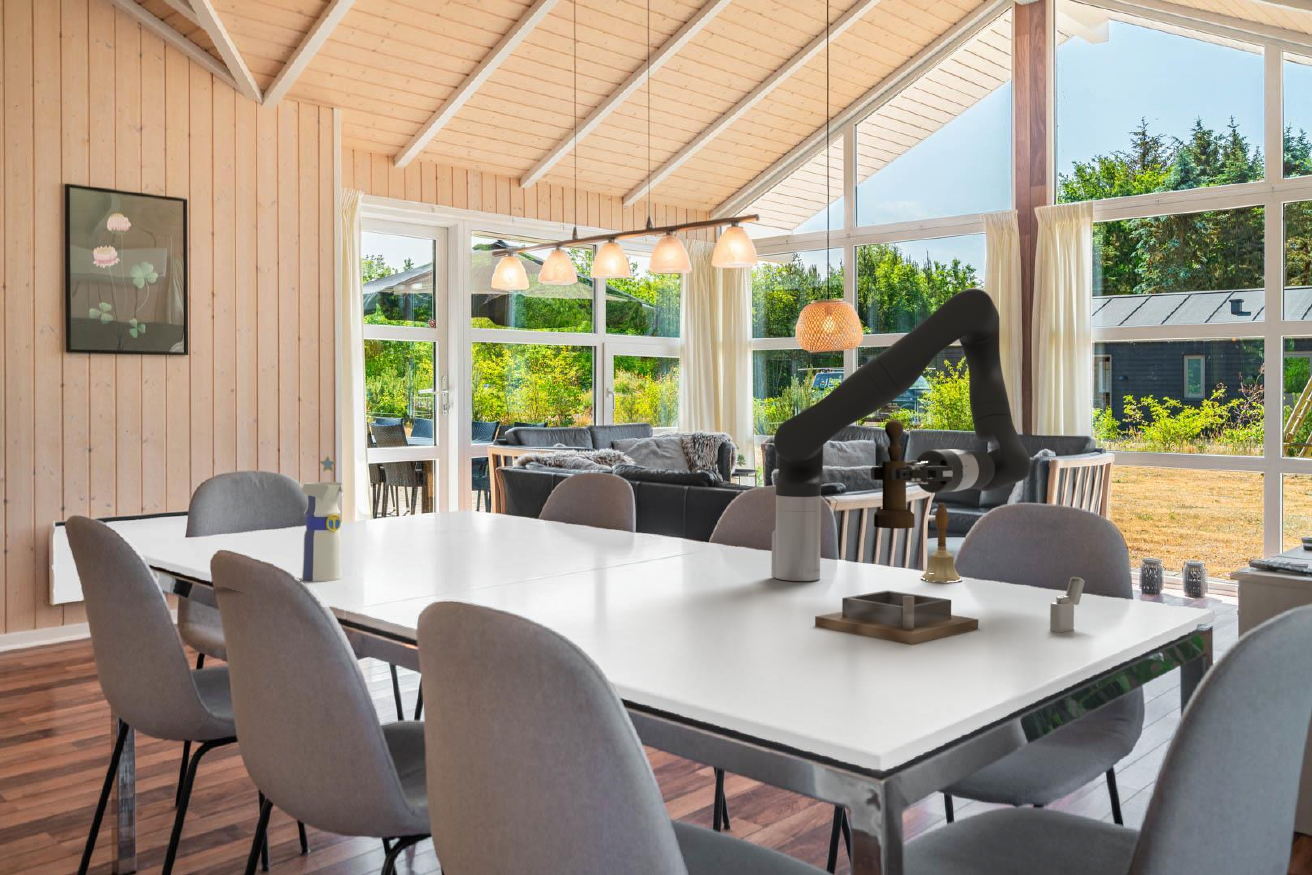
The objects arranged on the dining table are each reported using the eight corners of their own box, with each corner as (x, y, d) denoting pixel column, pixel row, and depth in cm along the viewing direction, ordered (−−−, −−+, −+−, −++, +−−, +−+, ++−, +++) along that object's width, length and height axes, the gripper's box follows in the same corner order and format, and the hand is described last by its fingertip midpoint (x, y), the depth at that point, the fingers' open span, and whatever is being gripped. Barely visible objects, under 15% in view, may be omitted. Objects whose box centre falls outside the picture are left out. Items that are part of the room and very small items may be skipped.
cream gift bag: (354, 577, 212) (354, 454, 212) (320, 582, 205) (320, 455, 205) (326, 574, 217) (327, 454, 216) (292, 579, 210) (293, 454, 209)
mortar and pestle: (911, 525, 178) (911, 419, 178) (917, 529, 172) (917, 419, 171) (871, 525, 179) (871, 420, 178) (876, 529, 172) (876, 420, 172)
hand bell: (961, 584, 210) (962, 505, 210) (919, 581, 213) (920, 503, 213) (963, 578, 218) (964, 502, 218) (922, 576, 221) (923, 501, 221)
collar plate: (815, 625, 165) (815, 584, 165) (883, 612, 177) (883, 574, 177) (911, 644, 152) (912, 599, 152) (978, 628, 164) (978, 587, 164)
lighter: (1059, 632, 161) (1060, 580, 161) (1049, 630, 163) (1050, 579, 163) (1084, 627, 166) (1085, 577, 166) (1074, 625, 167) (1074, 575, 167)
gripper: (913, 448, 189) (850, 450, 179) (981, 450, 178) (917, 452, 167) (913, 489, 189) (850, 494, 179) (981, 494, 178) (917, 499, 168)
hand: (883, 474), depth 173 cm, fingers closed on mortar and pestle, 4 cm apart
